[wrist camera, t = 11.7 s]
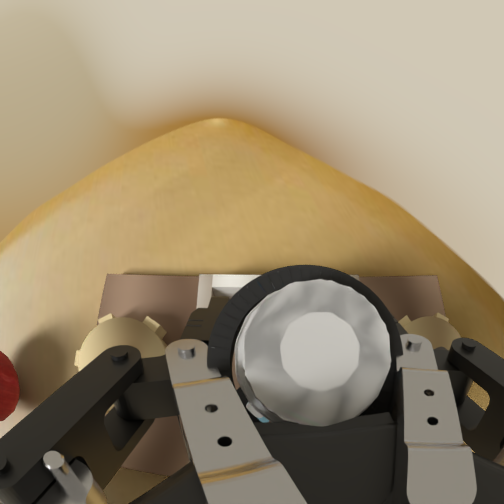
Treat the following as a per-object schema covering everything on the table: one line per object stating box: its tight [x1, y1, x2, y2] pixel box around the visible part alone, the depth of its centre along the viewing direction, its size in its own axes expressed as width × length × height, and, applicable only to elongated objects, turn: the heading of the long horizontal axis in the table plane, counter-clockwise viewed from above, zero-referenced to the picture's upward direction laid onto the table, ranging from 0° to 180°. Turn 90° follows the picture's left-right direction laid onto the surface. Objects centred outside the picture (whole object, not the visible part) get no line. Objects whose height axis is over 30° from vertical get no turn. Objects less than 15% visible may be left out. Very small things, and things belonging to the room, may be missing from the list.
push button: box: [207, 265, 403, 427], centre depth 11 cm, size 7×5×10 cm
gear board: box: [74, 274, 461, 476], centre depth 16 cm, size 25×13×4 cm, turn 89°
